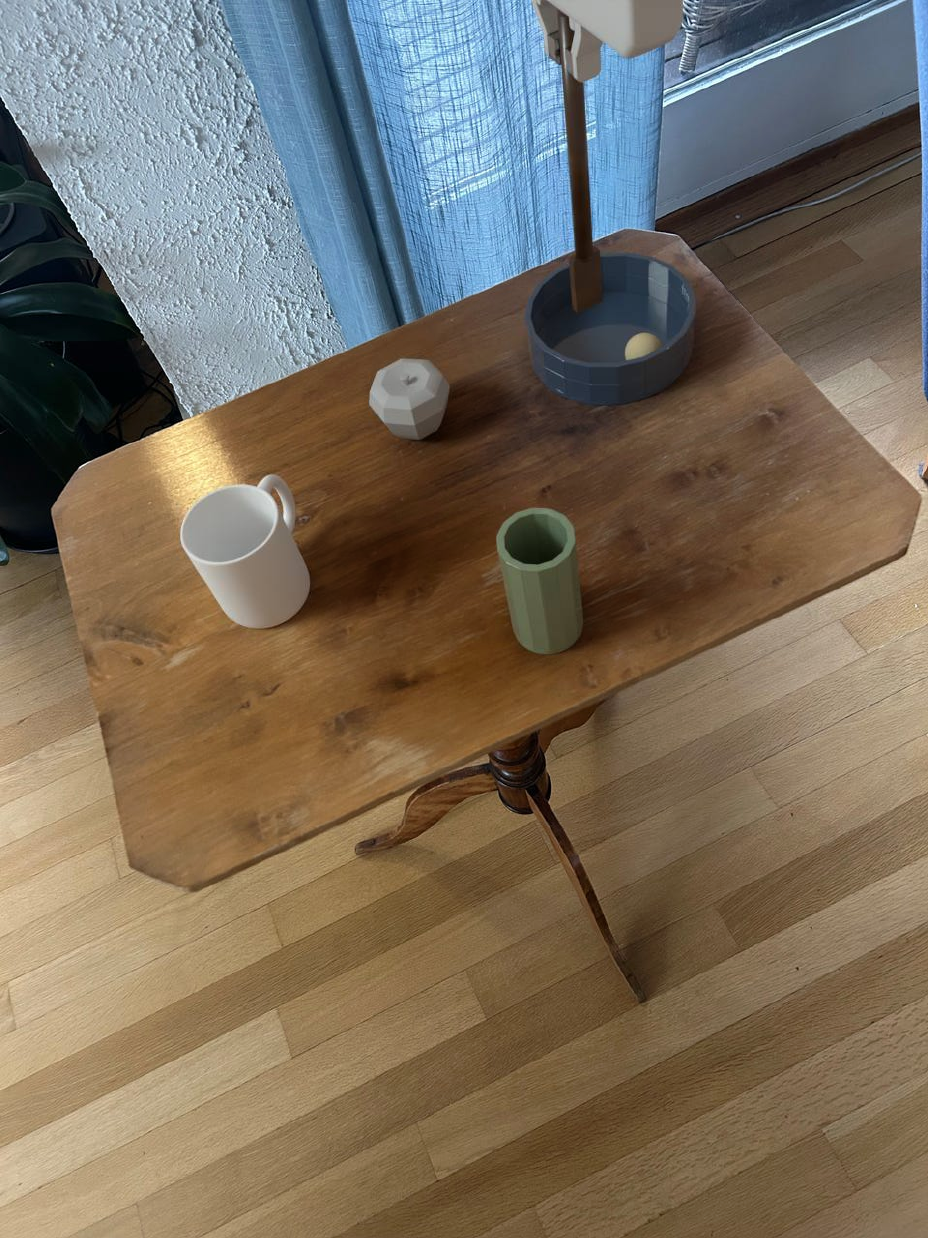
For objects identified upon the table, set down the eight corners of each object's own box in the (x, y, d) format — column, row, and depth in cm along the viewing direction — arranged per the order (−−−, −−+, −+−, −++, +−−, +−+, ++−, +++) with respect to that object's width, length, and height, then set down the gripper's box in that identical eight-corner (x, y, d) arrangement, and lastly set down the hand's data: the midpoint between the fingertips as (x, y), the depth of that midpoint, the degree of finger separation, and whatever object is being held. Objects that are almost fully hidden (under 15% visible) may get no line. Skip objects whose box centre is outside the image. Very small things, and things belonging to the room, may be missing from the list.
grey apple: (462, 446, 95) (452, 396, 90) (383, 464, 95) (367, 415, 90) (450, 388, 100) (439, 338, 94) (374, 406, 100) (359, 356, 94)
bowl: (634, 271, 105) (634, 230, 101) (726, 357, 96) (730, 317, 92) (501, 336, 103) (495, 297, 98) (584, 430, 94) (581, 392, 90)
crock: (559, 584, 85) (549, 495, 75) (596, 634, 82) (590, 547, 72) (500, 616, 84) (482, 529, 74) (536, 667, 81) (521, 584, 71)
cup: (207, 620, 88) (161, 552, 80) (265, 517, 94) (229, 444, 86) (288, 641, 86) (250, 573, 77) (343, 533, 91) (313, 460, 83)
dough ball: (641, 343, 98) (662, 323, 94) (654, 376, 97) (675, 357, 94) (612, 346, 96) (633, 326, 93) (625, 380, 95) (646, 361, 92)
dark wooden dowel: (595, 294, 82) (578, -13, 62) (604, 303, 81) (590, -5, 61) (570, 306, 81) (545, 2, 62) (579, 315, 81) (556, 10, 61)
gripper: (718, -157, 48) (706, 115, 60) (517, -253, 59) (539, -8, 71) (607, -111, 47) (616, 157, 59) (424, -216, 59) (462, 26, 70)
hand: (573, 66), depth 65 cm, fingers closed on dark wooden dowel, 1 cm apart
